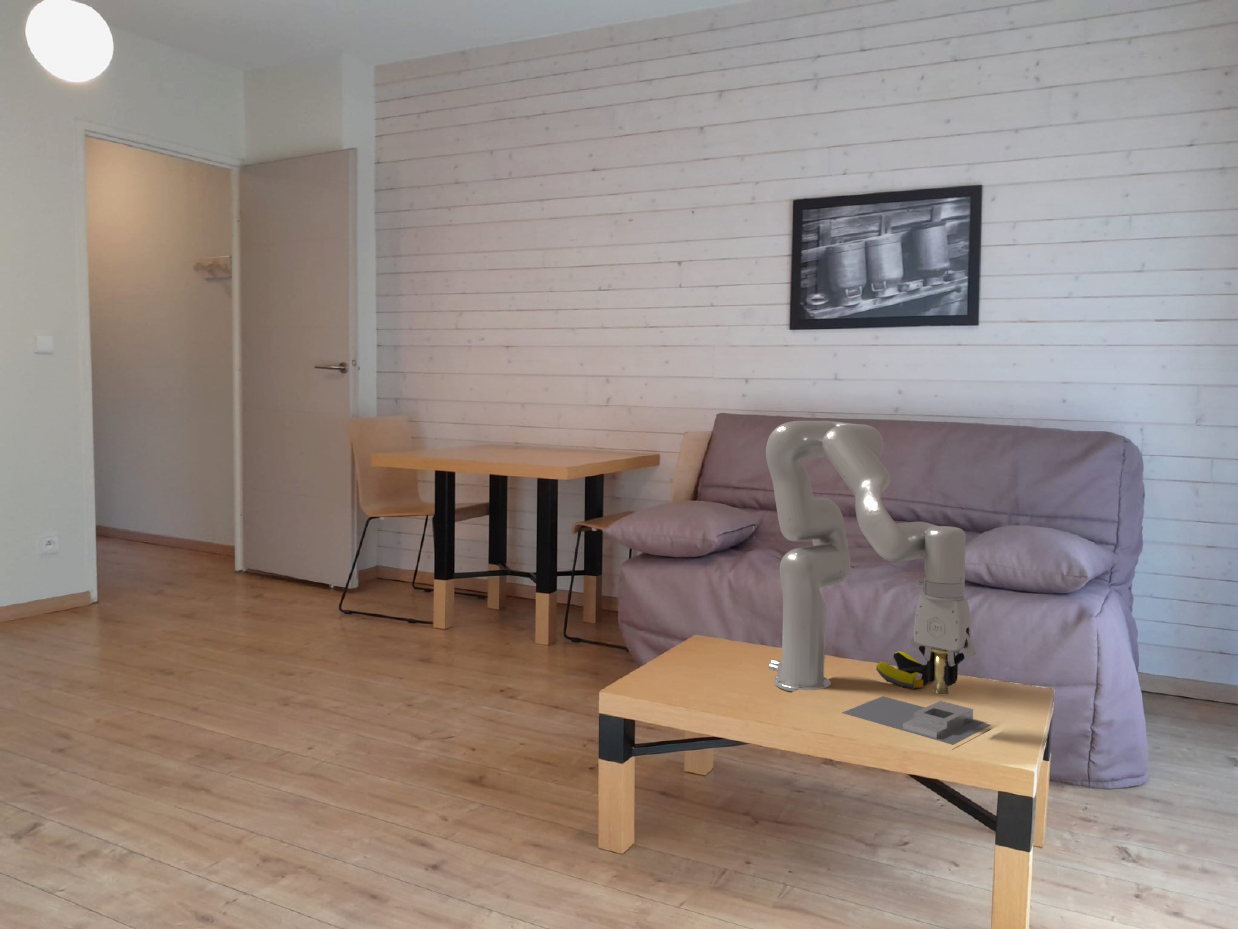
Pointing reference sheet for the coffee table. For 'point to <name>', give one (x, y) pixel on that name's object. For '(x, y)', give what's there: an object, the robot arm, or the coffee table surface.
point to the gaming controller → (904, 671)
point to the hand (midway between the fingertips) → (941, 681)
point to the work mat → (908, 718)
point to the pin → (940, 671)
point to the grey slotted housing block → (939, 719)
